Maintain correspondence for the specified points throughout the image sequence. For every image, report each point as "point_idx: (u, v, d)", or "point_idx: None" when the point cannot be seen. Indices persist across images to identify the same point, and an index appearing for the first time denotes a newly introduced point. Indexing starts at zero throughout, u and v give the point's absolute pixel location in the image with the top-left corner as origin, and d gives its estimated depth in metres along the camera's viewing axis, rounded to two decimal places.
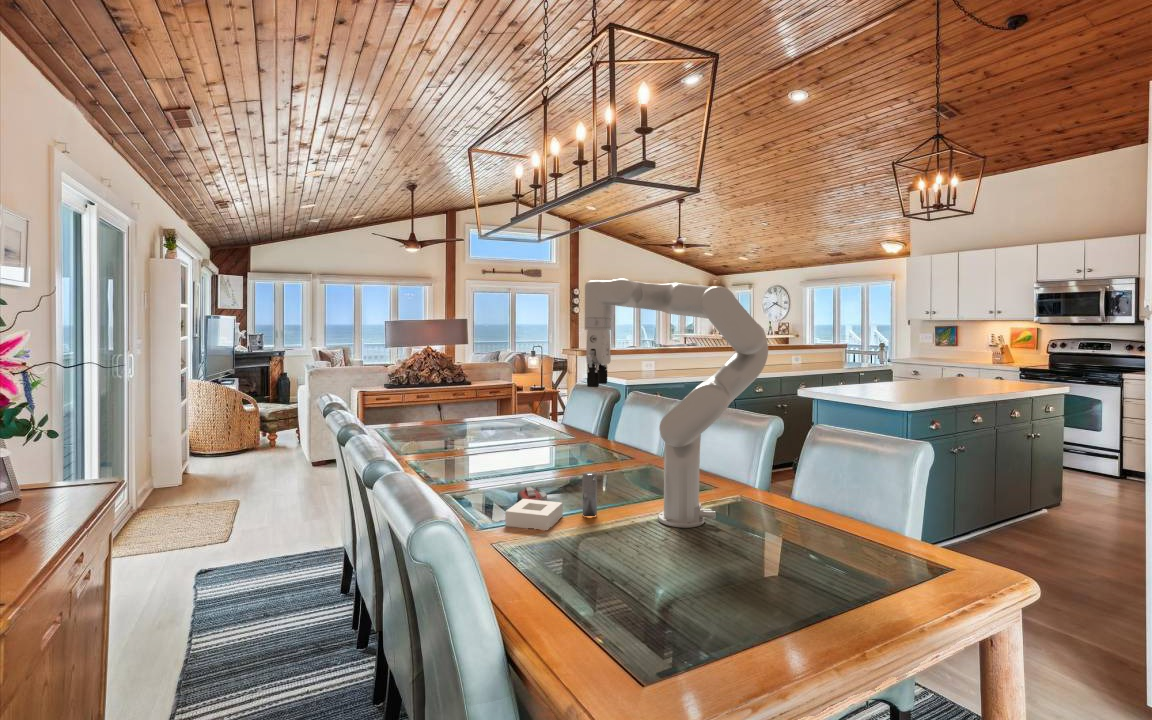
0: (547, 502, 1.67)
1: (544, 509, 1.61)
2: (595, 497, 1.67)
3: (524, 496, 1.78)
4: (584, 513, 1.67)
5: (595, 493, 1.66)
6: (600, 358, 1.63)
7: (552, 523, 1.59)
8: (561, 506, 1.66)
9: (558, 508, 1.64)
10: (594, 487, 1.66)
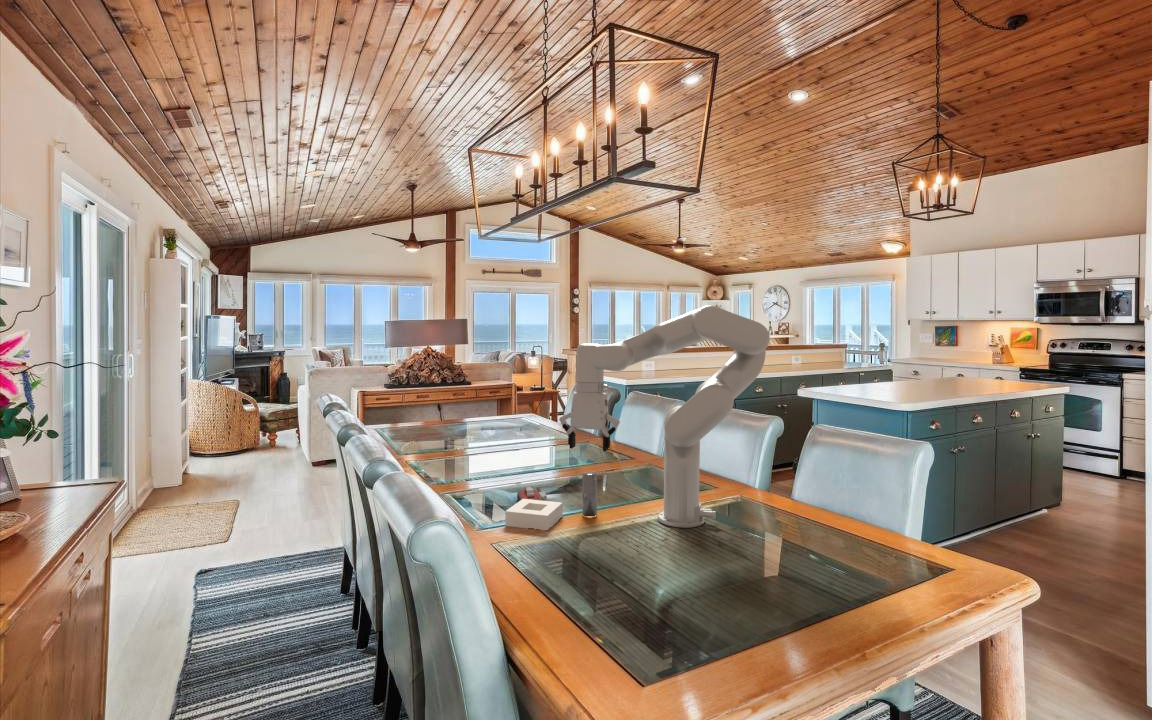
0: (547, 502, 1.67)
1: (544, 509, 1.61)
2: (595, 497, 1.67)
3: (523, 496, 1.78)
4: (584, 513, 1.67)
5: (595, 493, 1.66)
6: (608, 420, 1.67)
7: (552, 523, 1.59)
8: (561, 506, 1.66)
9: (558, 508, 1.64)
10: (594, 487, 1.66)
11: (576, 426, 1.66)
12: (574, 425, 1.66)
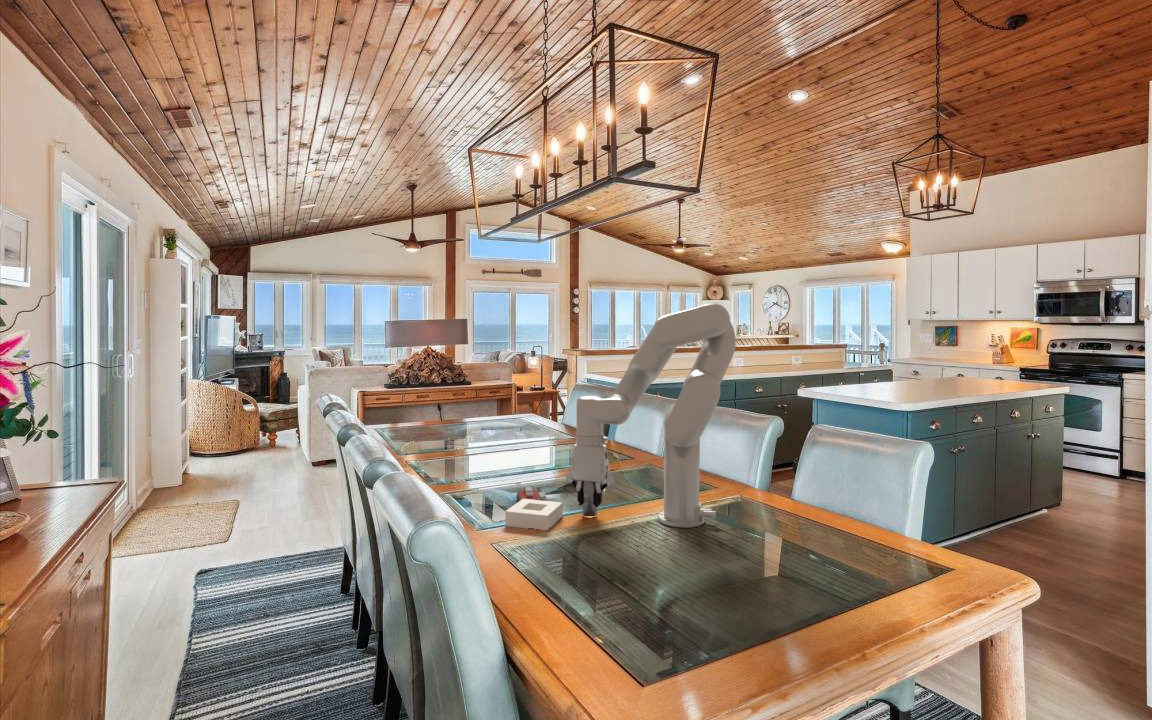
0: (547, 502, 1.67)
1: (544, 509, 1.61)
2: None
3: (522, 496, 1.78)
4: (584, 513, 1.67)
5: None
6: None
7: (552, 523, 1.59)
8: (561, 506, 1.66)
9: (558, 508, 1.64)
10: (594, 487, 1.66)
11: (577, 478, 1.66)
12: (575, 477, 1.67)
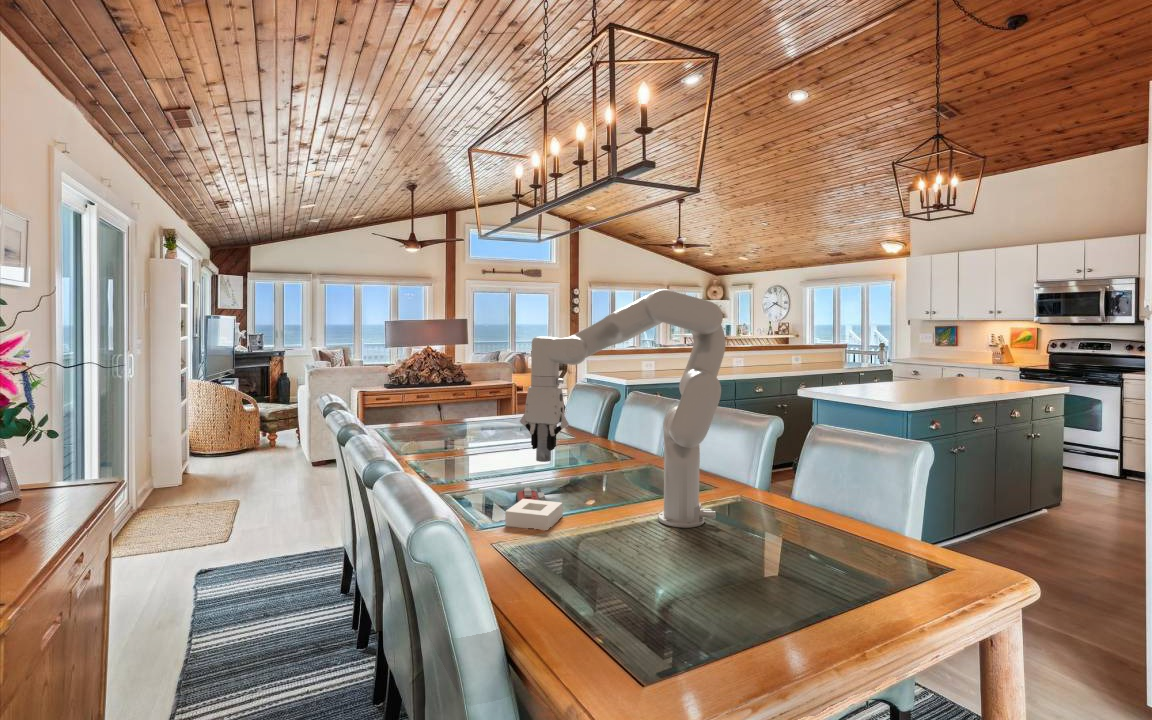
0: (547, 502, 1.67)
1: (544, 509, 1.61)
2: None
3: (520, 496, 1.78)
4: (537, 456, 1.62)
5: None
6: None
7: (552, 523, 1.59)
8: (561, 506, 1.66)
9: (558, 508, 1.64)
10: (548, 429, 1.61)
11: (530, 421, 1.62)
12: (528, 420, 1.62)
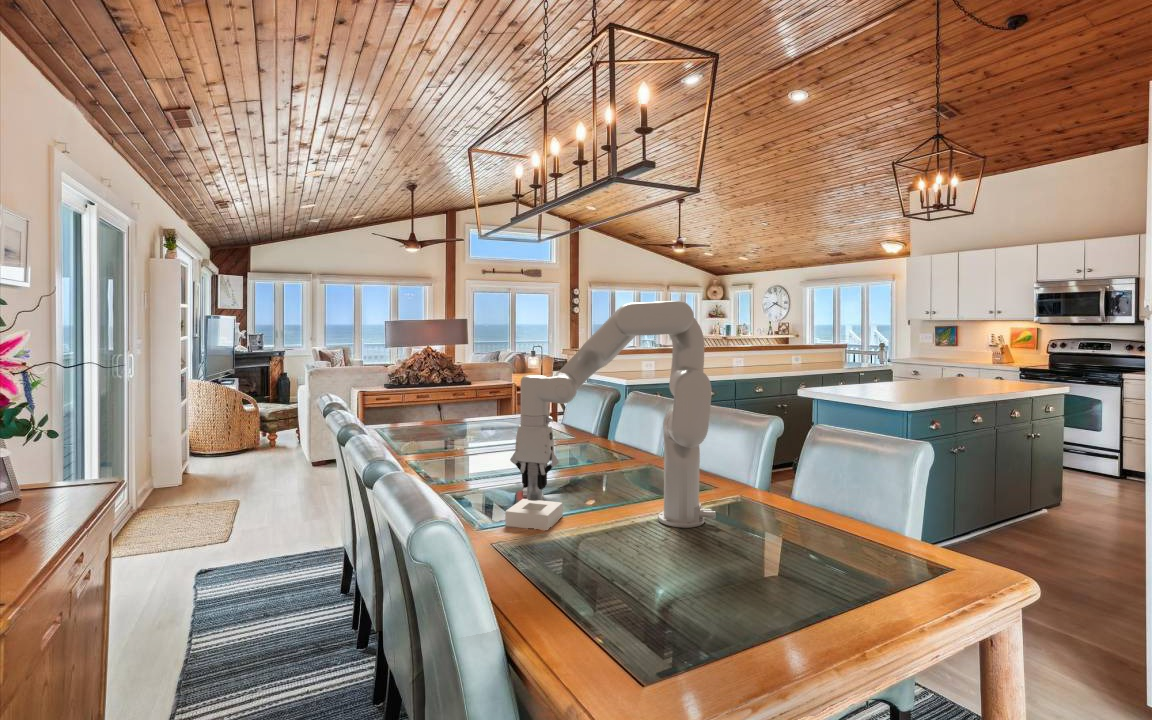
0: (547, 502, 1.67)
1: (544, 509, 1.61)
2: None
3: (519, 496, 1.77)
4: (528, 495, 1.62)
5: None
6: (554, 454, 1.63)
7: (552, 523, 1.59)
8: (561, 506, 1.66)
9: (558, 508, 1.64)
10: (538, 468, 1.61)
11: (521, 460, 1.62)
12: (519, 459, 1.62)
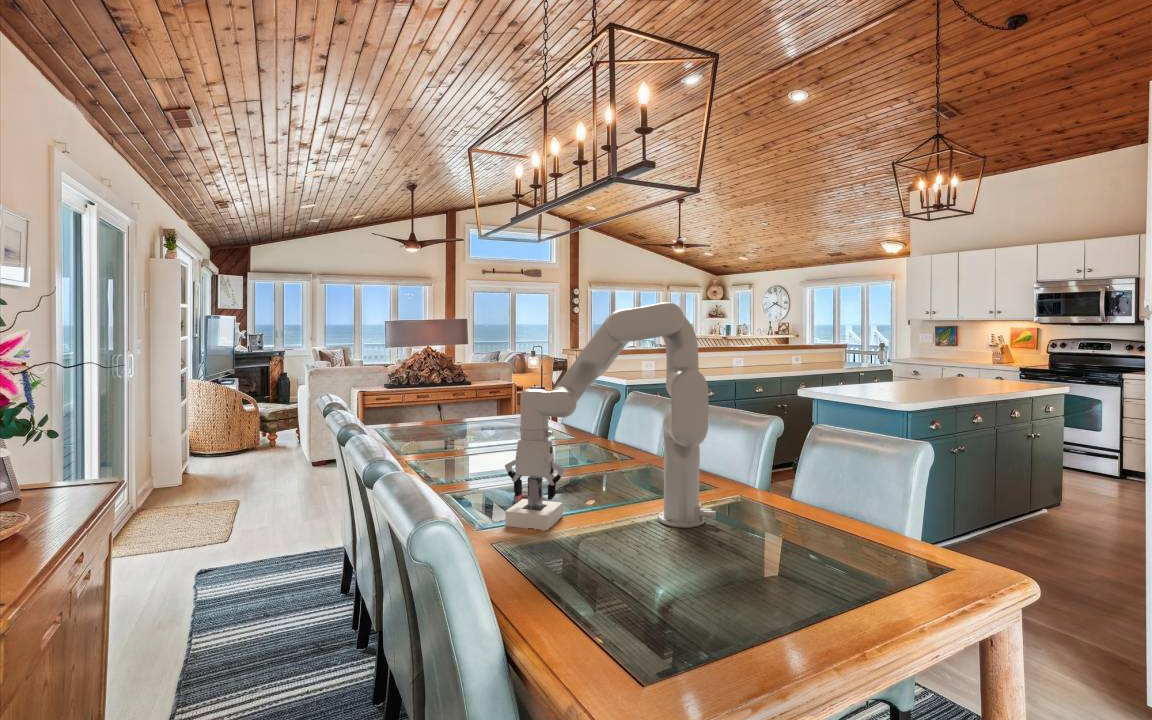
0: (547, 502, 1.67)
1: (544, 509, 1.61)
2: (540, 502, 1.62)
3: (518, 496, 1.77)
4: None
5: (540, 498, 1.62)
6: None
7: (552, 523, 1.59)
8: (561, 506, 1.66)
9: (558, 508, 1.64)
10: (539, 491, 1.61)
11: (521, 474, 1.62)
12: (519, 473, 1.62)
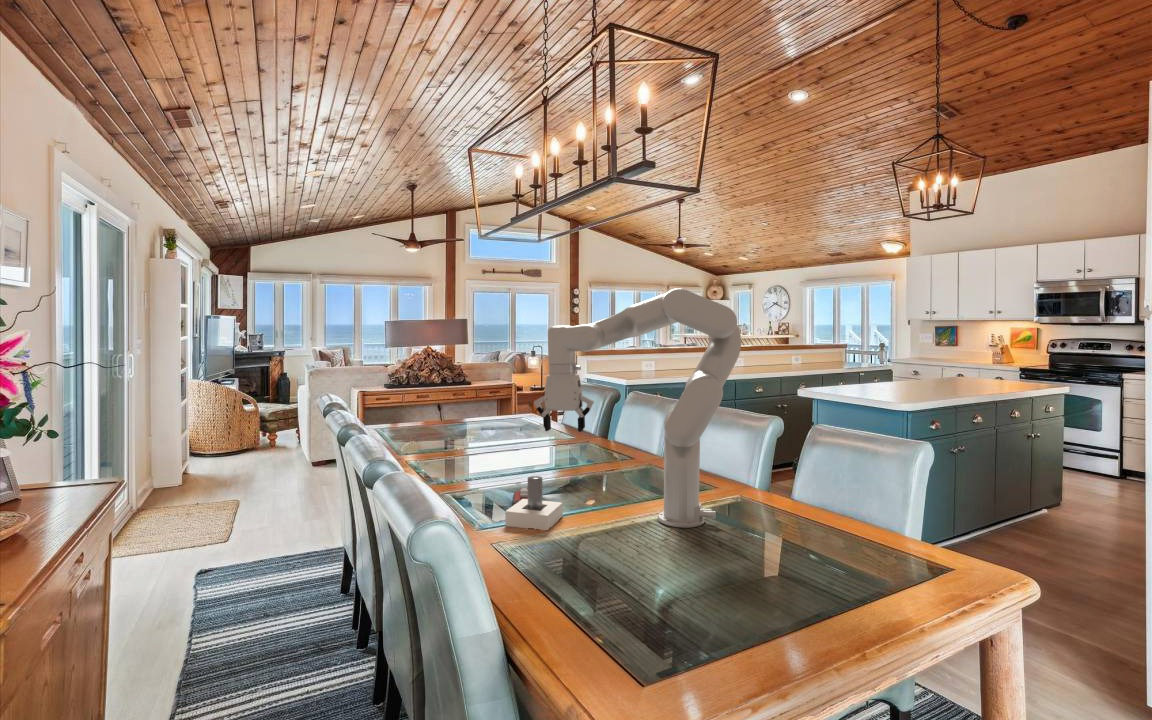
0: (547, 502, 1.67)
1: (544, 509, 1.61)
2: (540, 502, 1.62)
3: (516, 496, 1.77)
4: None
5: (540, 498, 1.62)
6: (582, 401, 1.68)
7: (552, 523, 1.59)
8: (561, 506, 1.66)
9: (558, 508, 1.64)
10: (539, 491, 1.61)
11: (550, 408, 1.66)
12: (548, 407, 1.67)
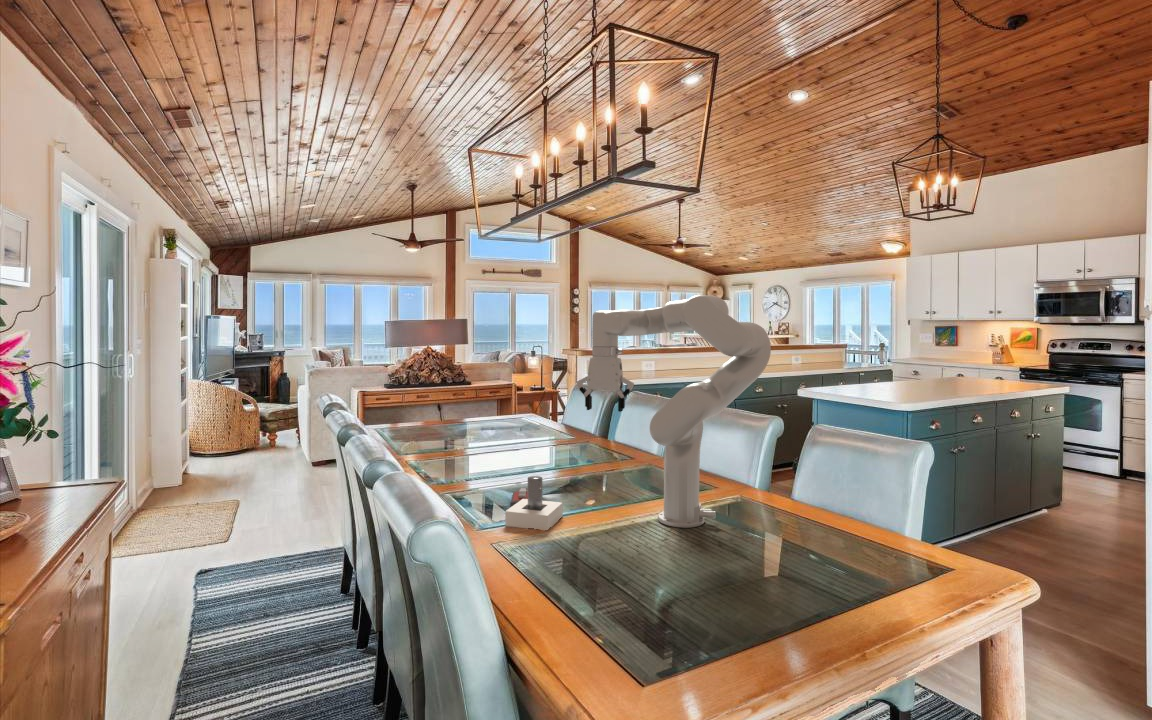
0: (547, 502, 1.67)
1: (544, 509, 1.61)
2: (540, 502, 1.62)
3: (515, 497, 1.77)
4: None
5: (540, 498, 1.62)
6: None
7: (552, 523, 1.59)
8: (561, 506, 1.66)
9: (558, 508, 1.64)
10: (539, 491, 1.61)
11: (593, 388, 1.76)
12: (591, 388, 1.76)
